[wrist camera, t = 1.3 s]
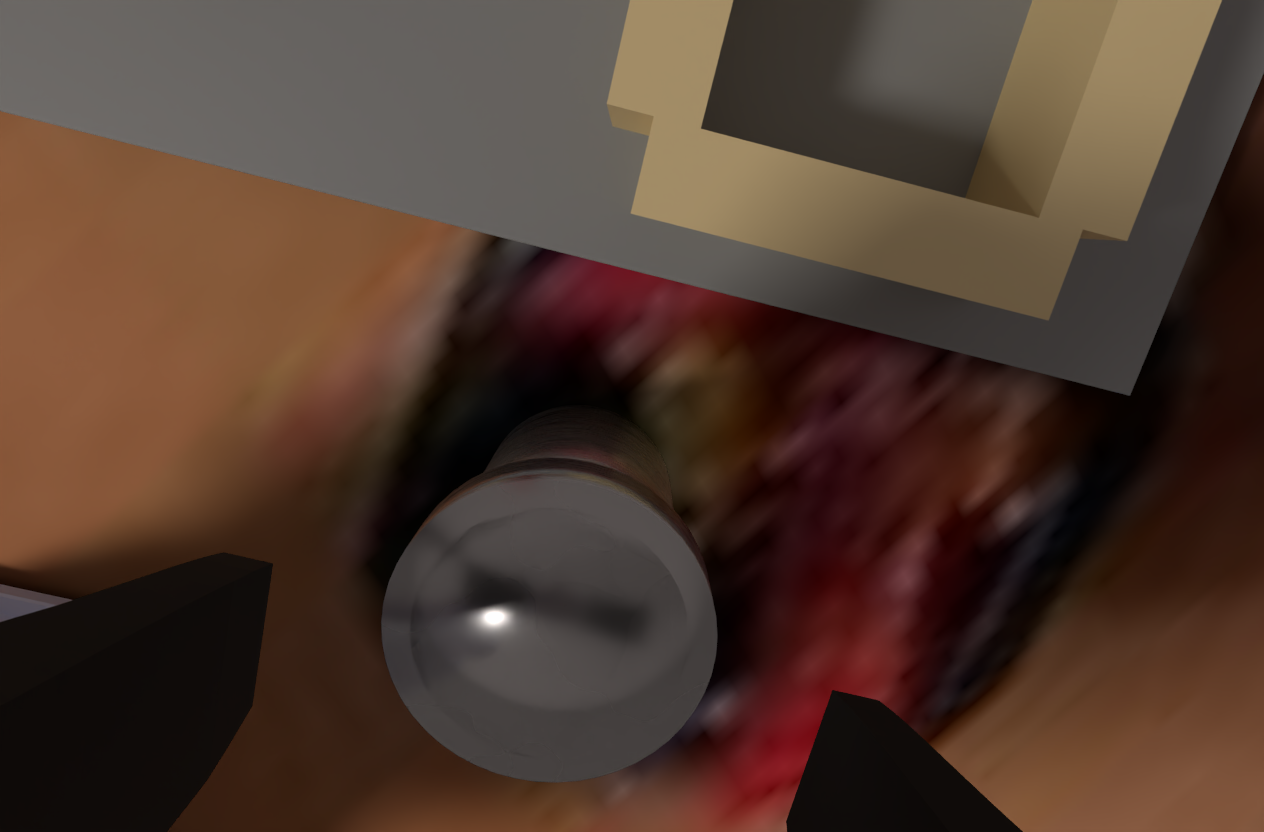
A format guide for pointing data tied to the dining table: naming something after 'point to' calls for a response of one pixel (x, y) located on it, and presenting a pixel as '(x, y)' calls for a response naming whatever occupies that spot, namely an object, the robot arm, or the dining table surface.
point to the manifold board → (721, 139)
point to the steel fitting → (554, 605)
